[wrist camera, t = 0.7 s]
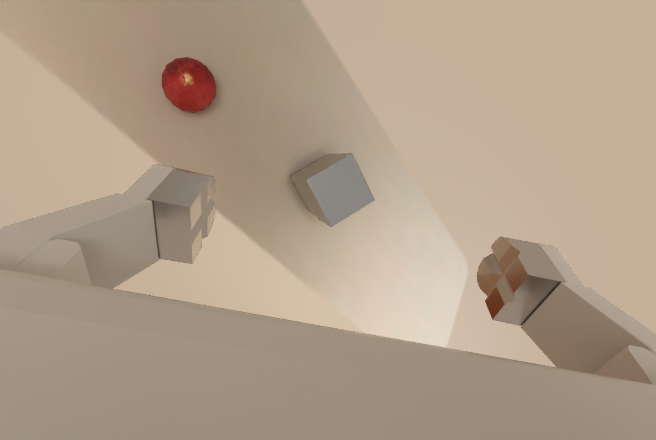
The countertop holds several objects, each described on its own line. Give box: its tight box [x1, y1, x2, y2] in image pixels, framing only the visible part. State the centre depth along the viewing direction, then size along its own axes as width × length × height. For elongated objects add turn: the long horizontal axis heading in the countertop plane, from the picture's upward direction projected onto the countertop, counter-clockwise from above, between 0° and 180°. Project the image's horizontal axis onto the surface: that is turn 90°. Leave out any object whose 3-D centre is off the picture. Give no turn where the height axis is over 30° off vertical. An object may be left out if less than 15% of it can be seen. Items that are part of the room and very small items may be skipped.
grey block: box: [290, 153, 375, 227], centre depth 45 cm, size 6×6×10 cm
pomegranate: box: [162, 57, 216, 112], centre depth 39 cm, size 6×6×8 cm
